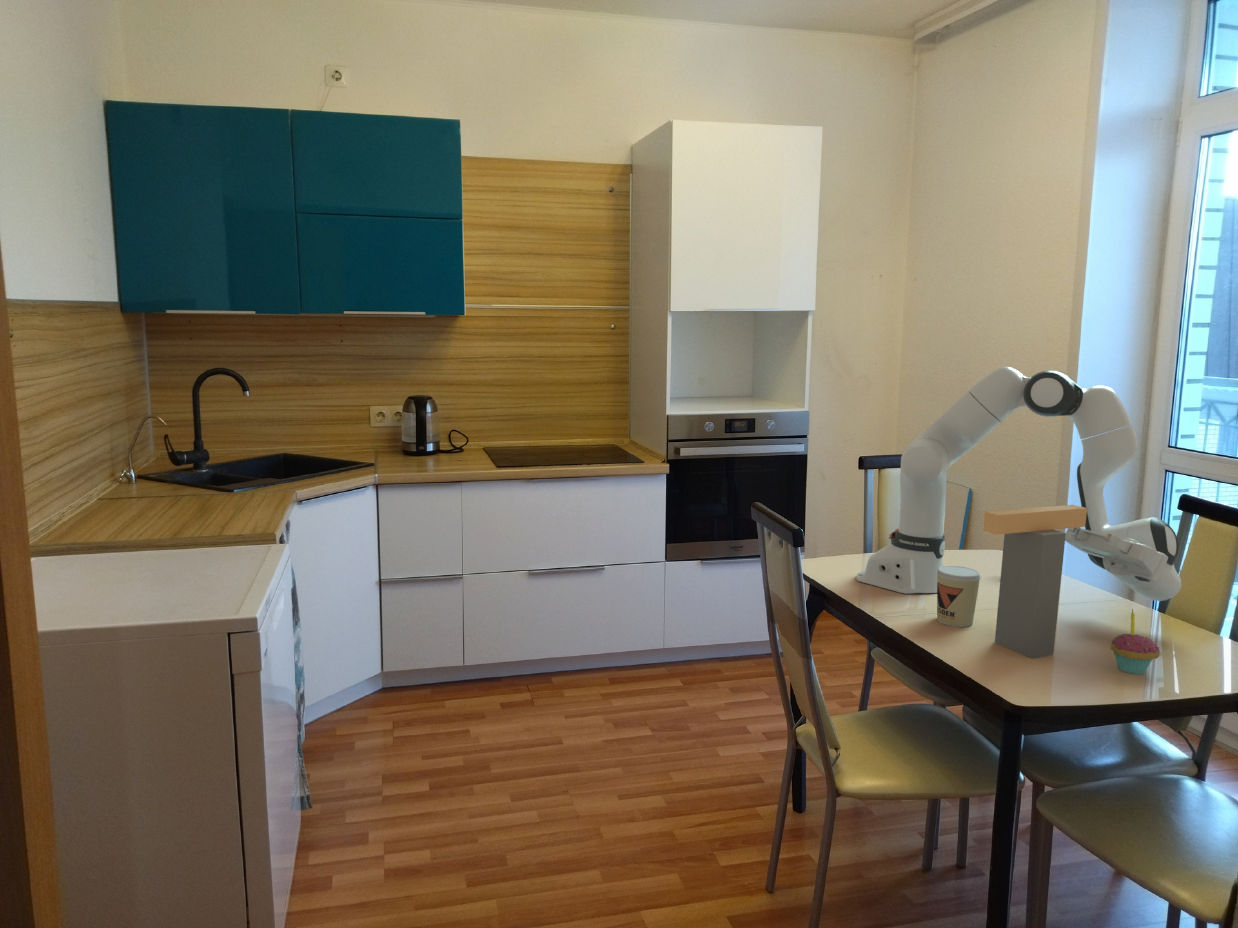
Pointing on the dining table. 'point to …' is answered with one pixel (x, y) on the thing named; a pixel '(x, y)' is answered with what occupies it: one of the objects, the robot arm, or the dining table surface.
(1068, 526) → the bar
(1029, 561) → the stand
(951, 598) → the coffee cup
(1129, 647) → the cupcake
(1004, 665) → the dining table surface
